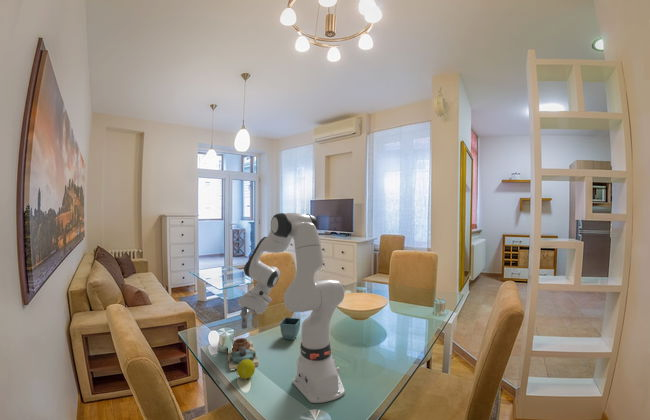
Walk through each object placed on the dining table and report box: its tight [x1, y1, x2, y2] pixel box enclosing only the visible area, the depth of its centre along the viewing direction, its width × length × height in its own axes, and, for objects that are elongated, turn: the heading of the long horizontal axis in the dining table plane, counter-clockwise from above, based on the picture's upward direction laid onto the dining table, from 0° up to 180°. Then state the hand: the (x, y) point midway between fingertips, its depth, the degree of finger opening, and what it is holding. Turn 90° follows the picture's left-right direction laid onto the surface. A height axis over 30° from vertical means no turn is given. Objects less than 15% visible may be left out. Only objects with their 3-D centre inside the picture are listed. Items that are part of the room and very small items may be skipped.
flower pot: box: [279, 317, 301, 341], centre depth 154 cm, size 9×9×9 cm
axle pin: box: [240, 307, 248, 330], centre depth 151 cm, size 3×3×10 cm
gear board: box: [227, 337, 259, 370], centre depth 135 cm, size 22×12×6 cm, turn 22°
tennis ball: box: [236, 359, 256, 380], centre depth 119 cm, size 7×7×7 cm
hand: (243, 316), depth 151 cm, fingers closed on axle pin, 3 cm apart
